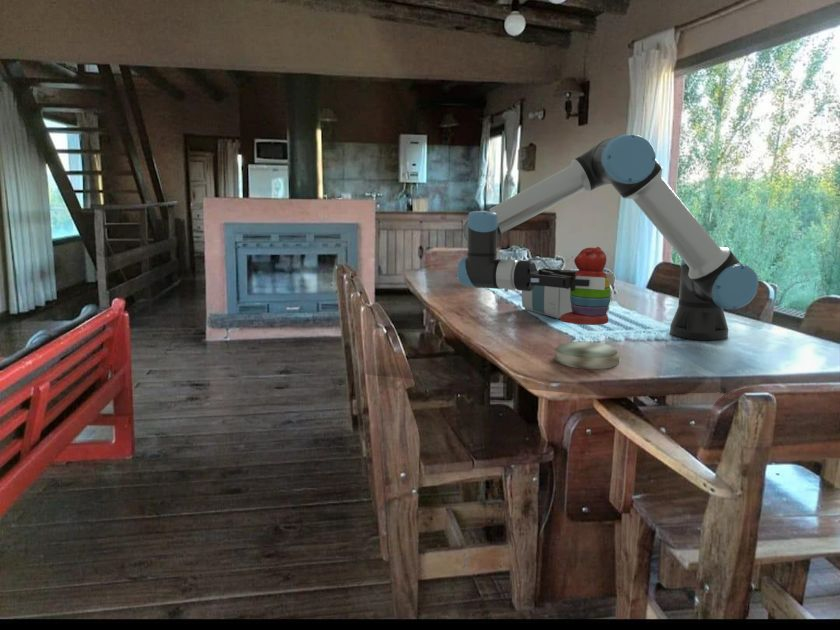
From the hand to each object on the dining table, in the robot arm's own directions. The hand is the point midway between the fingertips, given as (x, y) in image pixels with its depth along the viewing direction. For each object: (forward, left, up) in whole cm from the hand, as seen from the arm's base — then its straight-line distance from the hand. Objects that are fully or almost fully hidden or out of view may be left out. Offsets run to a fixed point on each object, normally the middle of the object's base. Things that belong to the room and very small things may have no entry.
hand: (609, 281), depth 150 cm
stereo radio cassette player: (+21, -59, -20) cm, 66 cm away
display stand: (+4, -1, -20) cm, 20 cm away
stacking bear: (+5, -1, -10) cm, 11 cm away
